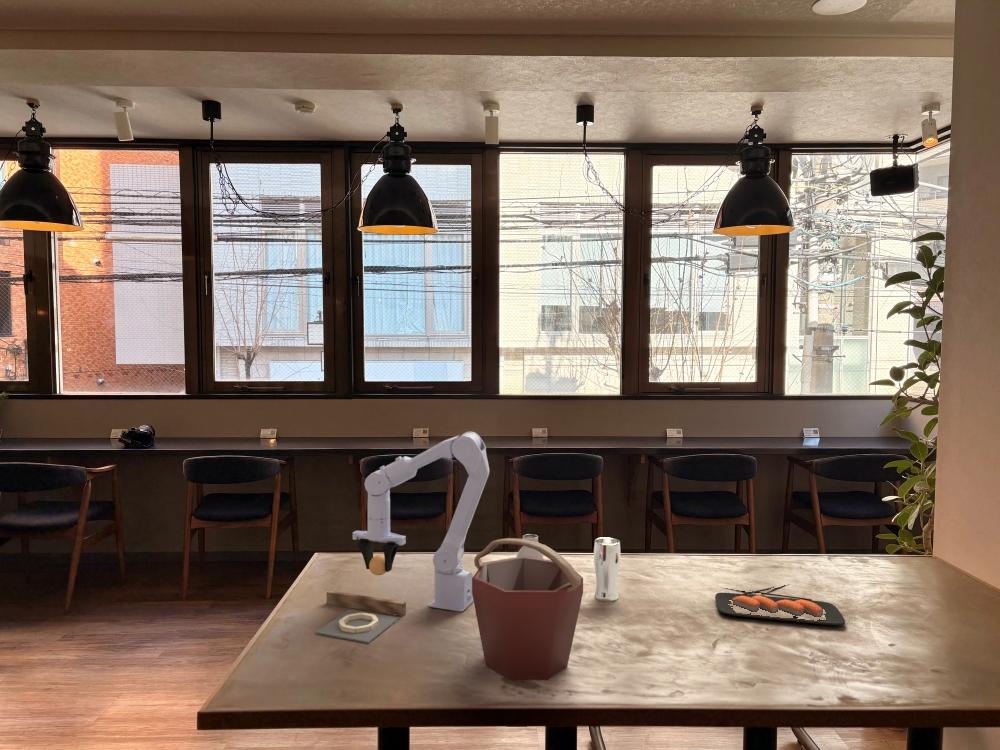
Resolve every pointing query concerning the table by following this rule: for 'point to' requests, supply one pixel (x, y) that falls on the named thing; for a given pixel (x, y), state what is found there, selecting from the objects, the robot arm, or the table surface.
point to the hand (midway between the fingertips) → (378, 569)
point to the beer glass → (607, 568)
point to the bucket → (526, 611)
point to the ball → (377, 565)
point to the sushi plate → (779, 607)
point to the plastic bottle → (529, 551)
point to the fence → (366, 603)
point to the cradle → (357, 626)
